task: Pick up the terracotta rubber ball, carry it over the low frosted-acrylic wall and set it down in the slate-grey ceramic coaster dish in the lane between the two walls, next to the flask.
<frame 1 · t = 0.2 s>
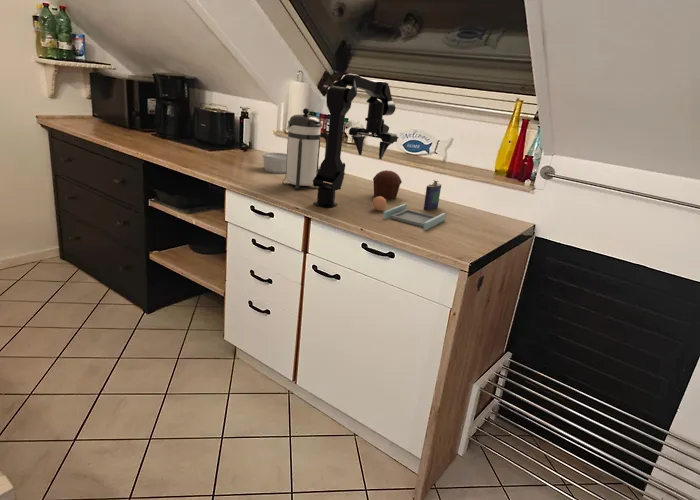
hand: (370, 157, 191), 14 cm above the table, tool pointing down, fingers open, 9 cm apart
muffin: (385, 196, 195), on the table
ramekin: (277, 171, 219), on the table
ball: (379, 203, 174), point 2 cm above the table
coffee press: (303, 186, 197), on the table
acrylic walls: (414, 219, 168), on the table
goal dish: (414, 219, 168), on the table
flask: (430, 209, 185), on the table
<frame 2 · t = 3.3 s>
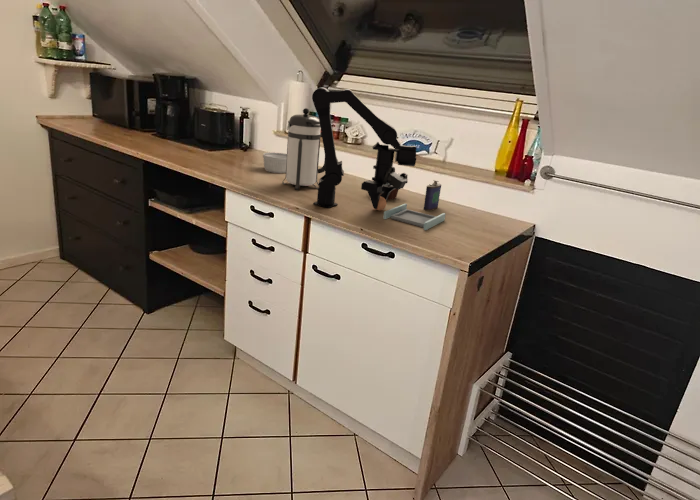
hand: (378, 207, 174), 1 cm above the table, tool pointing down, fingers closed on ball, 5 cm apart
ball: (379, 203, 174), point 2 cm above the table, touching gripper
everything else where it was.
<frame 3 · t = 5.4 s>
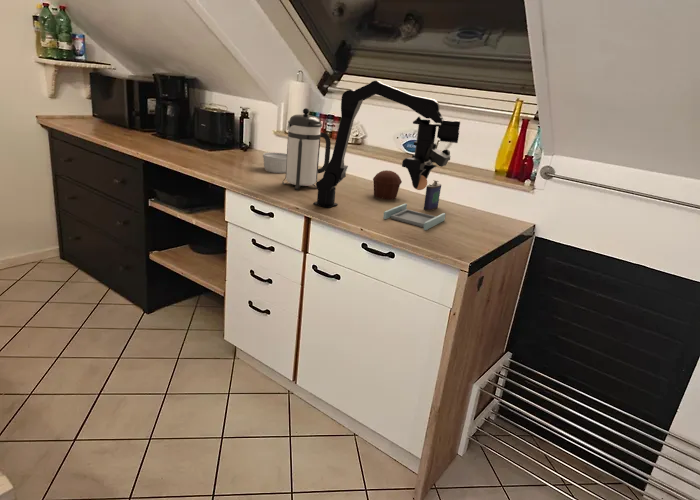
hand: (419, 186, 164), 11 cm above the table, tool pointing down, fingers closed on ball, 5 cm apart
ball: (419, 182, 164), point 13 cm above the table, touching gripper
everything else where it was.
when the fingers open (2 cm above the table, at t = 7.4 s): ball stays where it is, resting on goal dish.
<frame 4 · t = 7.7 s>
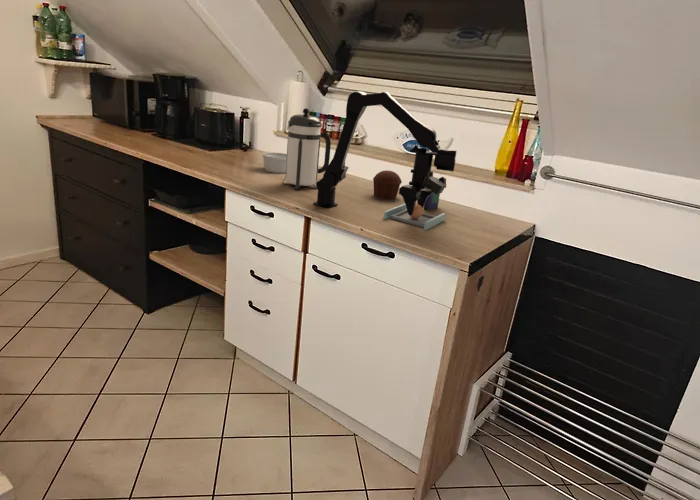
hand: (415, 212, 167), 2 cm above the table, tool pointing down, fingers open, 8 cm apart
ball: (415, 211, 167), point 3 cm above the table, touching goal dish
everything else where it was.
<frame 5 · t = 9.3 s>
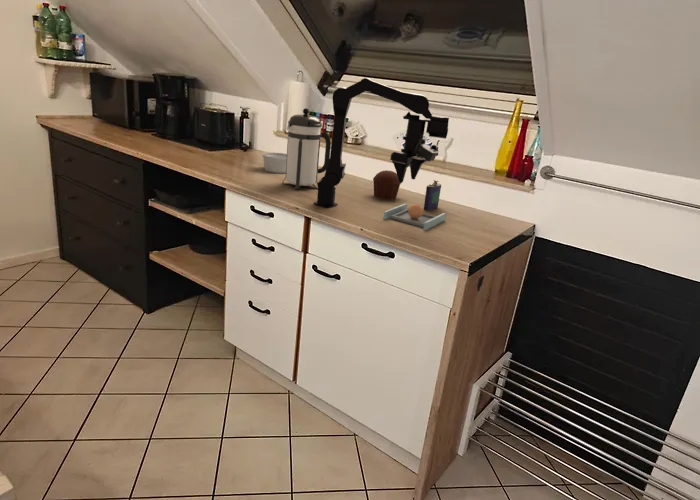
hand: (407, 180, 168), 12 cm above the table, tool pointing down, fingers open, 9 cm apart
nothing on the table moved.
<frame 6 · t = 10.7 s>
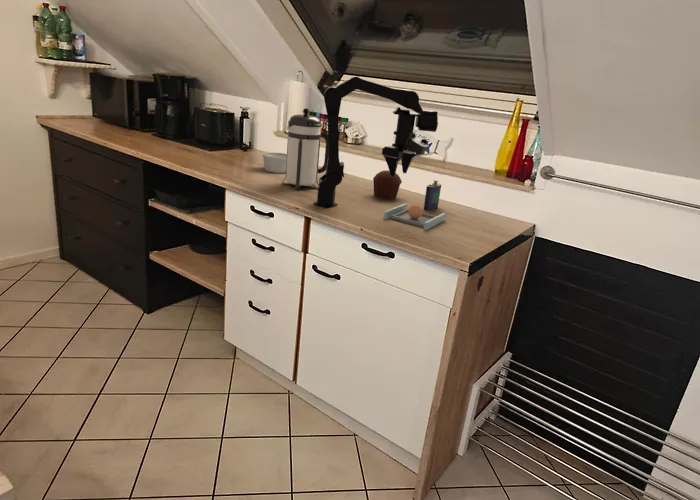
hand: (398, 174, 171), 13 cm above the table, tool pointing down, fingers open, 9 cm apart
nothing on the table moved.
at the end: ball inside the target area on the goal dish (0.1 cm from its centre), point 2.9 cm above the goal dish's base; the gripper is holding nothing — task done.
